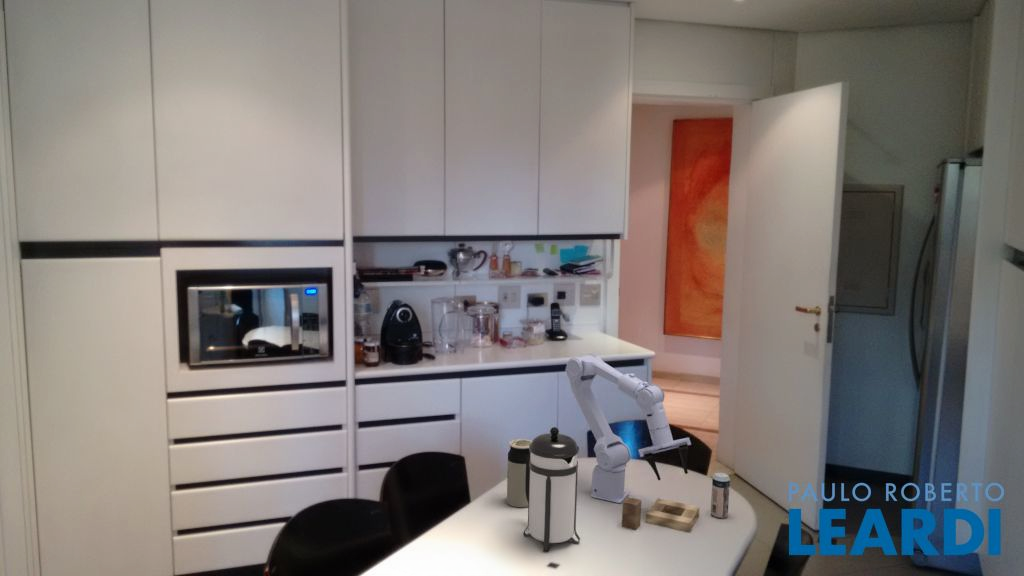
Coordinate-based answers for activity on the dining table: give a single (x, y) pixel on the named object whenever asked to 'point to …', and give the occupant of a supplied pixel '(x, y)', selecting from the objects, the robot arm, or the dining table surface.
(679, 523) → the oak socket block
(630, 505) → the walnut peg
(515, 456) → the travel mug
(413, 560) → the dining table surface
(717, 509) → the beer can
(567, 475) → the coffee press
